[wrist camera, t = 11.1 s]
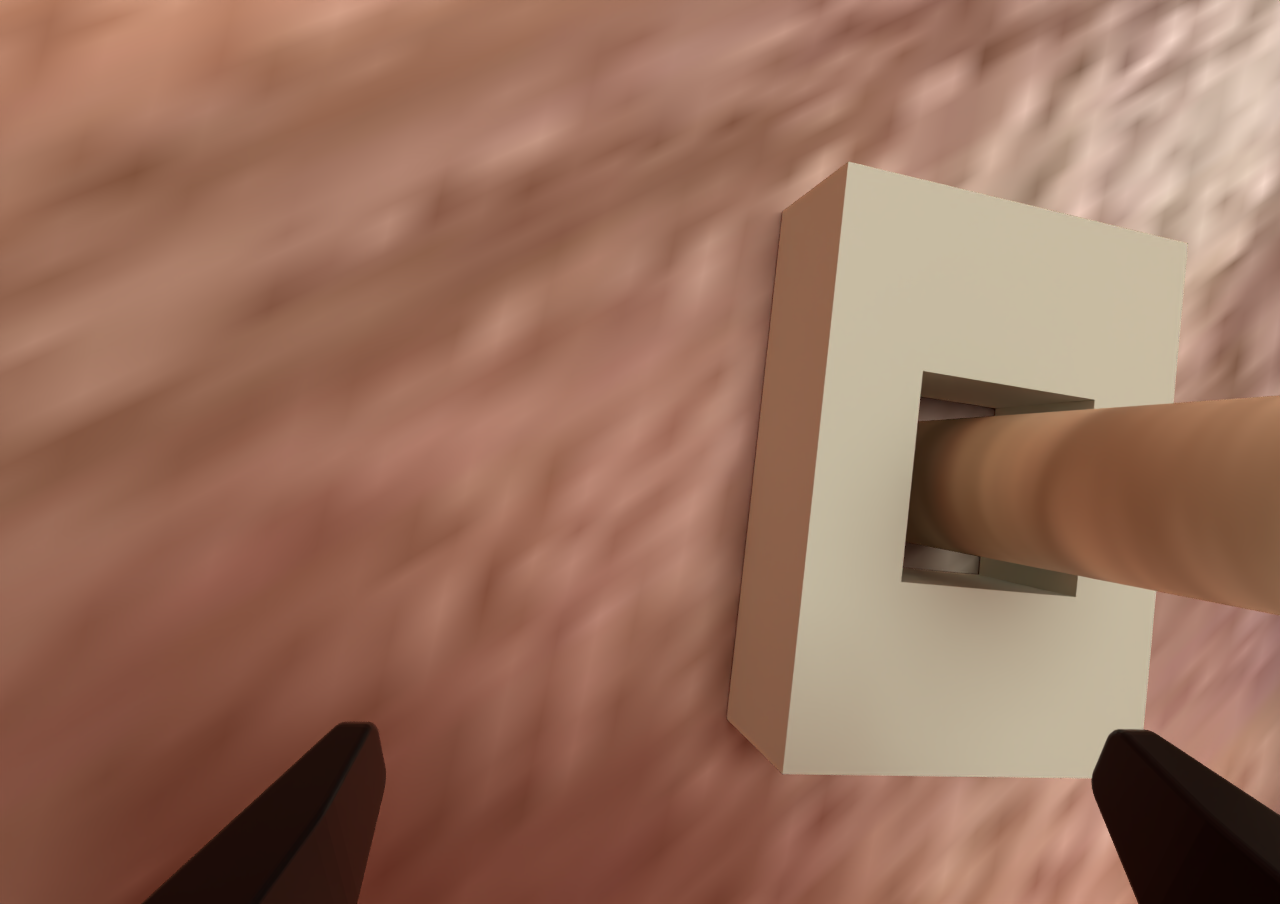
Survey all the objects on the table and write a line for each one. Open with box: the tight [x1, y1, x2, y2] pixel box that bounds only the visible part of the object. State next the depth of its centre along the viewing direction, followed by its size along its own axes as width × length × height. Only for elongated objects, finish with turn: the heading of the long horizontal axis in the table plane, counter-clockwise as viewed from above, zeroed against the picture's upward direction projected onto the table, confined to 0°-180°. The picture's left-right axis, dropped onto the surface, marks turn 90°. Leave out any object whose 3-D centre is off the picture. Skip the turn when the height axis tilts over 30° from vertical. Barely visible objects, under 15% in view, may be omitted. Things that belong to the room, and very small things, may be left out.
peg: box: [905, 396, 1280, 615], centre depth 14 cm, size 4×4×14 cm
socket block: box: [727, 162, 1188, 778], centre depth 19 cm, size 14×10×4 cm
